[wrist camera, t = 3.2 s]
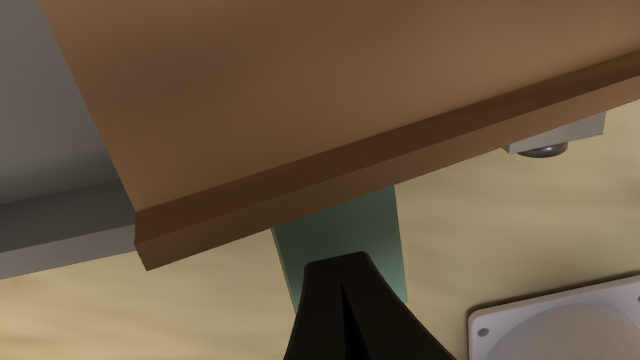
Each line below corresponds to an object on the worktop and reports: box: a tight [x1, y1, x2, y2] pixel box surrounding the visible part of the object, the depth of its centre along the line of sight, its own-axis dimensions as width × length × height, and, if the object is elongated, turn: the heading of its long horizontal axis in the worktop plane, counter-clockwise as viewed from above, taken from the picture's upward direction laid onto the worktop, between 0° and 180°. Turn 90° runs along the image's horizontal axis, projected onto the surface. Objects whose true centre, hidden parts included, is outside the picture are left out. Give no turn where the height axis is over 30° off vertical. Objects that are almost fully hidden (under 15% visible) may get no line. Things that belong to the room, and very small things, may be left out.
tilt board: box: [38, 0, 640, 315], centre depth 10 cm, size 10×20×3 cm, turn 100°
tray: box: [0, 0, 136, 280], centre depth 11 cm, size 9×10×3 cm
